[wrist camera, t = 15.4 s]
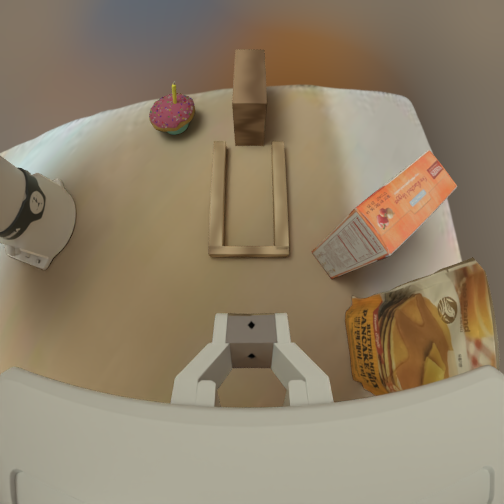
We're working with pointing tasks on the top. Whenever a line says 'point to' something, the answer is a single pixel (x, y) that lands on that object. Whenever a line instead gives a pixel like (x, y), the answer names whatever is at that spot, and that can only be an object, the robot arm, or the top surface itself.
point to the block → (249, 97)
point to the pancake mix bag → (423, 330)
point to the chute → (278, 208)
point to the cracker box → (386, 217)
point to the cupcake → (172, 112)
